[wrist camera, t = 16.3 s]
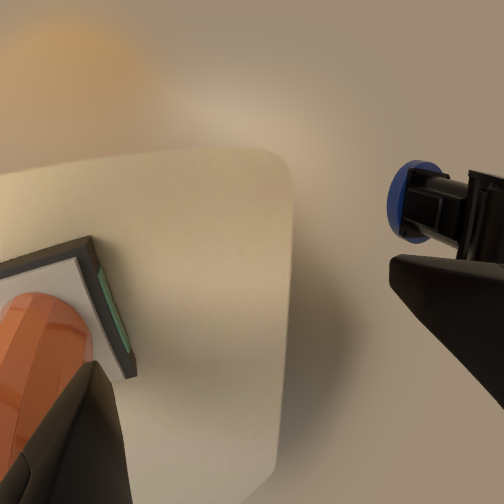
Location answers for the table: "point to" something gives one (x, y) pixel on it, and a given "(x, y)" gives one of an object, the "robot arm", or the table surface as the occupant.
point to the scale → (75, 297)
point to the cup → (35, 364)
